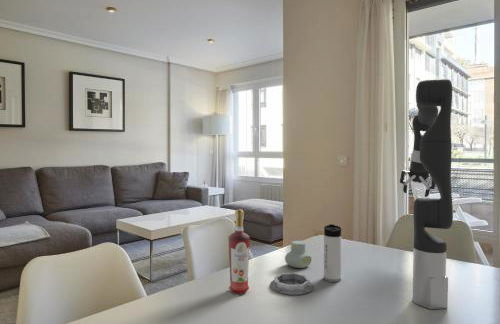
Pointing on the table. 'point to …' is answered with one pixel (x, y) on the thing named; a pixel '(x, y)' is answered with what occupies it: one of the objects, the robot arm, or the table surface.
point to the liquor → (239, 256)
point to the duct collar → (291, 284)
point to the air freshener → (298, 255)
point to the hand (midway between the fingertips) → (415, 194)
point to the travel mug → (332, 253)
